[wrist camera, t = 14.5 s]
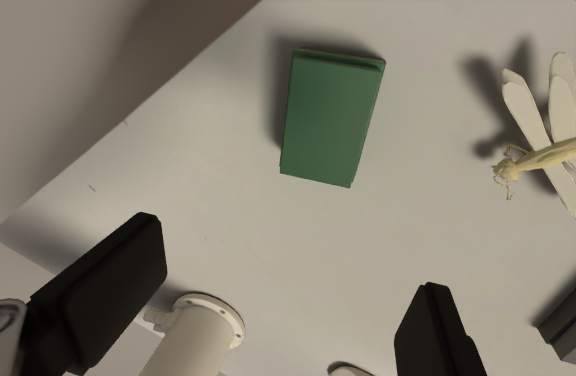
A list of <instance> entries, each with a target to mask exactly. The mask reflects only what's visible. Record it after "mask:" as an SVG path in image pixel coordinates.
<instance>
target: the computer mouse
mask: <svg viewBox="0 0 576 376" xmlns="http://www.w3.org/2000/svg"><path fill="white" fill-rule="evenodd" d="M330 376H371V375H370V374H368V373H366V372H363V371H361V370H359V369H356V368H353V367H349V366H343V367H339V368H337V369H336V370H334V371H333V372H332V373H331V374H330Z"/></svg>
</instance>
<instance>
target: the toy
mask: <svg viewBox="0 0 576 376" xmlns="http://www.w3.org/2000/svg"><path fill="white" fill-rule="evenodd" d="M501 80H502V85H503V86H502V94H503V98H504V100H505V103H506V106H507V107H508V109H509V110H510V112H511V114H512V115H513V117H514V118H515V120H516V122H517V123H518V125H519V127H520V128H521V130H522V131H523V133H524V135H525V137H526V138H527V140H528V142H529V144H530V146H531V148H532V151H530V152H528V151H526V150H524V149H522V148H520V147H517V146H515V145H513V144H511V143H510V144H507V151H506V153H507V154H508V155H510V154H511V153H510V146H511V147H513V148H516V149H518V150H520V151H522V152H524V153H526V155H524V156H523V157H522V158H520V159H519V160H517V161H516V160H515V159H514V158H511V159H507V158H505V159H503V160H502V161H501V162H500V163H498V165H497V166H491V167H493V168H494V169H493V171H494V173H495V175H497V176H500V177H501V178H502V179H503V180H505V181H511V180H514V181H516V180H517V179H518V177H519V171H523V170H524V171H527V170H533V169H539V168H543V169H544V171H545V173H546V174H547V176H548V178H549V179H550V181H551V183H552V184H553V186H554V188H555V189H556V191H557V193H558V195H559V197H560V198H561V200H562V202H563V204H564V205H565V207H566V208H567V209H568V210H569V212H570V213H571V214H572V215H573V217H574V218H575V219H576V182H575V181H574V180H573V178H572V177H571V176H570V175H569V173H568V172H567V171H566V169H565V168H564V166H563V164H562V163H561V162H564V161H565V162H566V163H567V164H568V165H569V166H570V167H571V168H572V169H573V170H574V171H575V172H576V75H575V71H574V68H573V65H572V63H571V60H570V58H569V56H568V55H567V54H566V53H565V52H558V53H556V54H555V55H554V56H553V59H552V62H551V65H550V76H549V98H548V112H549V123H550V128H551V133H552V137H553V142H550V140H549V138H548V136H547V134H546V131H545V128H544V125H543V122H542V119H541V116H540V114H539V111H538V109H537V106H536V104H535V101H534V98H533V96H532V94H531V92H530V90H529V88H528V86H527V84H526V82H525V80H524V79H523V77H522V76H520V75H518V74H516V73H514V72H513V71H511V70H509V69H503V70H502V72H501ZM495 175H494V180H495V177H496V176H495ZM495 181H496V180H495ZM496 182H497V181H496ZM497 183H498V182H497ZM498 184H500V183H498ZM501 185H502V184H501ZM503 186H504V185H503ZM505 187H508V182H507V186H505ZM509 188H511V187H509ZM509 188H508V194H507V197H508V196H509ZM514 194H515V193H514ZM514 194H513V195H514ZM513 195H511V197H512V196H513ZM511 197H510V199H508V198H507V200H511Z"/></svg>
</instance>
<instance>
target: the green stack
mask: <svg viewBox="0 0 576 376" xmlns="http://www.w3.org/2000/svg"><path fill="white" fill-rule="evenodd" d="M298 56H303V57H309V58H316V59H322V60H329V61H335V62H341V63H348V64H354V65H361V66H367V67H374V68H379V69H380V70H381V76H380V79H379V83H378V87H377V90H376V94H375V98H374V101H373V105H372V109H371V113H370V116H369V120H368V124H367V127H366V131H365V135H364V138H363V142H362V146H361V149H360V153H359V157H358V161H357V164H356V168H355V172H354V175H353V179H352V182H353V180H354V177H355V175H356V171H357V167H358V164H359V160H360V156H361V153H362V149H363V145H364V142H365V138H366V135H367V131H368V127H369V124H370V120H371V116H372V113H373V109H374V105H375V102H376V98H377V94H378V91H379V87H380V84H381V80H382V76H383V73H384V69H385V65H386V61H385V60H383V59H376V58H369V57H363V56H356V55H349V54H343V53H336V52H330V51H323V50H316V49H310V48H303V47H302V48H298V49H293V52H292V61H291V70H290V78H289V87H288V96H287V104H286V113H285V122H284V130H283V139H282V148H281V156H280V165H279V166H281V158H282V149H283V141H284V132H285V124H286V115H287V107H288V98H289V90H290V81H291V73H292V64H293V58H295V57H298Z"/></svg>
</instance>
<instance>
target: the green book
mask: <svg viewBox="0 0 576 376" xmlns="http://www.w3.org/2000/svg"><path fill="white" fill-rule="evenodd" d="M380 76H381V70H380V69H379V68H374V67H367V66H361V65H354V64H348V63H341V62H335V61H329V60H322V59H316V58H309V57H303V56H298V57H295V58H293V64H292V73H291V81H290V90H289V98H288V107H287V115H286V124H285V132H284V141H283V149H282V158H281V166H280V173H281V174H286V175H291V176H295V177H300V178H304V179H309V180H314V181H318V182H323V183H327V184H332V185H337V186H341V187H346V188H350V186H351V183H352V179H353V175H354V172H355V168H356V164H357V161H358V157H359V153H360V149H361V146H362V142H363V138H364V135H365V131H366V127H367V124H368V120H369V116H370V113H371V109H372V105H373V101H374V98H375V94H376V90H377V87H378V83H379V79H380Z"/></svg>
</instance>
